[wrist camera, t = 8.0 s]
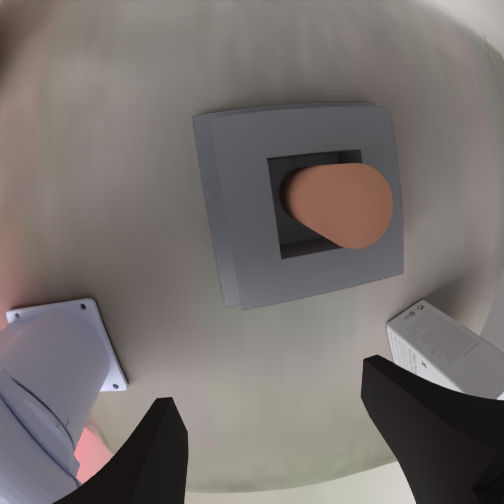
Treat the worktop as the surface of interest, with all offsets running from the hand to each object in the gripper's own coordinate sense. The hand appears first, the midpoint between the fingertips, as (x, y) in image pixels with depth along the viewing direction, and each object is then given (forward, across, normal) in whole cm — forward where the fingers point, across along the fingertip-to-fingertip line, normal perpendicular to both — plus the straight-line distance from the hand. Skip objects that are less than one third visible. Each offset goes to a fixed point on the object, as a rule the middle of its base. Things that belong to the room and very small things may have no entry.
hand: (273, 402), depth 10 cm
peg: (+10, -5, -6) cm, 12 cm away
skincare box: (+11, -14, +7) cm, 19 cm away
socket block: (+10, -4, -6) cm, 13 cm away
